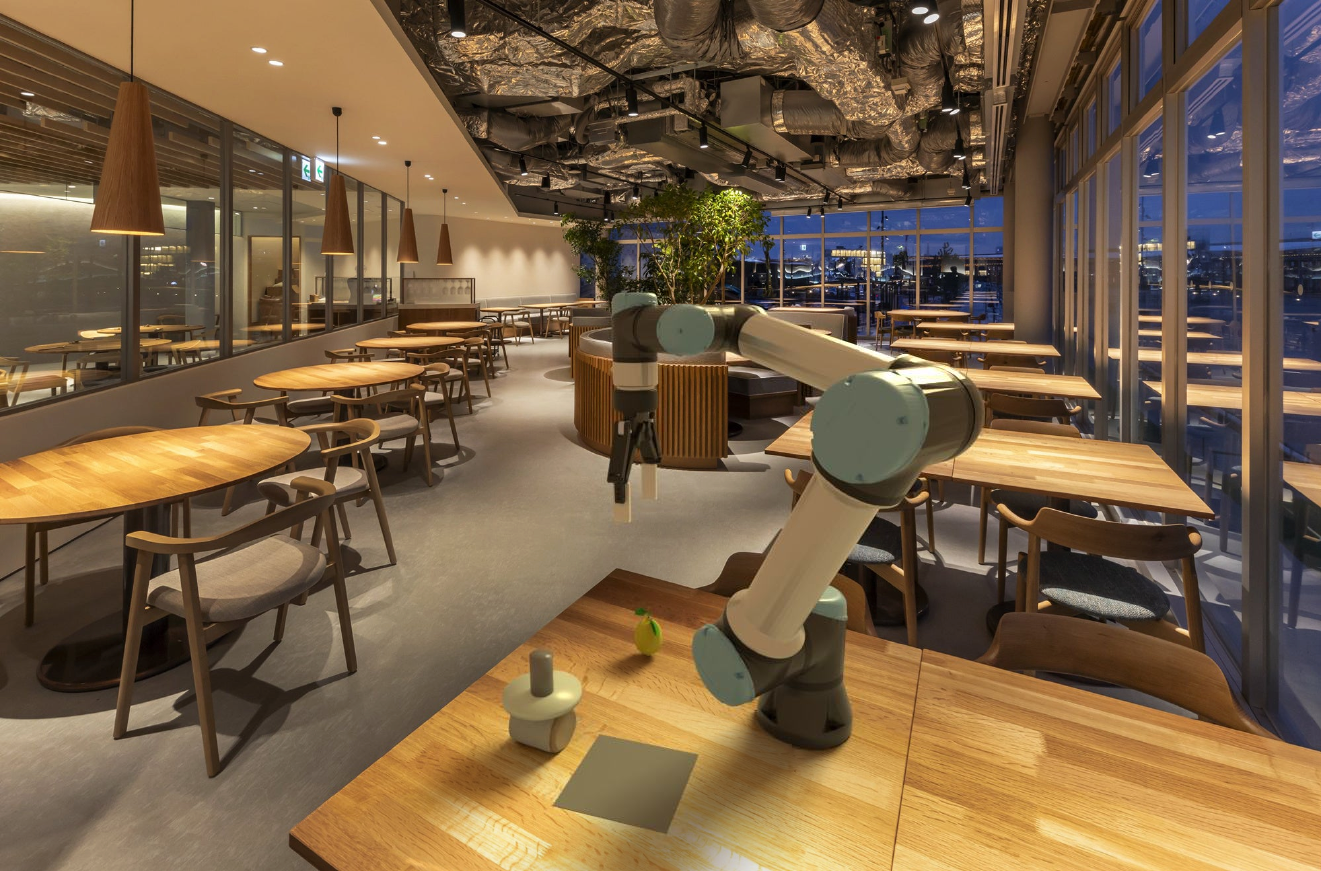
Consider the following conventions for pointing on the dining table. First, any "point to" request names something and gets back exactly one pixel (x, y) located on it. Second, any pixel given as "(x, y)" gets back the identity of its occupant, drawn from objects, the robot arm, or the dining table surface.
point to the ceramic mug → (544, 731)
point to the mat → (629, 783)
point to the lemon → (647, 634)
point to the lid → (541, 690)
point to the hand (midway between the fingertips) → (636, 509)
